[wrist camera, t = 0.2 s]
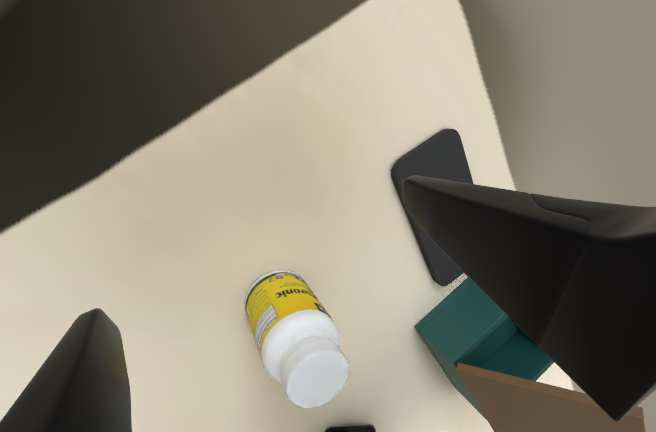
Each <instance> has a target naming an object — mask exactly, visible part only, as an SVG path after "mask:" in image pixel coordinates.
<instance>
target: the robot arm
mask: <svg viewBox="0 0 656 432" xmlns="http://www.w3.org/2000/svg"><path fill="white" fill-rule="evenodd" d="M402 202H403V205H404V207H405V208H406V210H407V211H408V212H409V213H410V214H411V216H412V217H413V218H414V219H415V221H416V222H417V223H418V224H419V226H420V227H421V228H422V229H423V230H424V232H425V233H426V234H427V235H428V236H429V238H430V239H431V240H432V241H433V242H434V243H435V244H436V245H437V246H438V247H439V248H440V249H441V250H442V251H443V252H444V253H445V254H446V255H447V256H448V257H449V258H450V259H451V260H452V261H453V262H454V263H455V264H456V265H457V266H458V267H459V268H460V269H461V270H462V271H463V272H464V273H465V274H466V275H467V276H468V277H469V278H470V279H471V280H472V281H473V282H474V283H475V284H476V285H477V286H478V287H479V288H480V289H481V290H482V291H483V292H484V293H485V294H486V295H487V296H488V297H489V298H490V299H491V300H492V301H494V302H495V303H496V304H497V305H498V306H499V307H500V308H501V309H502V310H503V311H504V312H505V313H506V314H507V315H508V316H509V317H510V318H511V319H512V320H513V321H514V322H515V323H516V324H517V325H518V326H519V327H520V328H521V329H522V330H523V331H524V332H525V333H526V334H527V335H528V336H529V337H530V338H531V339H532V340H533V341H534V342H535V343H536V344H537V345H539V347H540V348H541V349H542V350H543V351H544V352H545V353H546V354H547V355H548V356H549V357H550V358H551V359H552V360H553V361H554V362H555V363H556V364H557V365H558V366H559V367H560V368H561V369H562V370H563V371H564V372H565V373H566V374H567V375H568V376H569V377H570V378H571V379H572V380H573V381H574V382H575V383H576V384H577V385H578V386H579V387H580V388H581V389H582V390H583V391H584V392H585V393H586V394H587V395H588V396H589V397H590V398H591V399H592V400H593V401H594V402H595V403H596V404H597V405H598V406H600V407H601V408H602V409H603V410H604V411H605V412H606V413H607V414H608V415H609V416H610V417H611V418H612V419H613V420H615V421H616V422H619V421H620V420H621V419H622V418H623V417H624V416H626V415H627V414H628V413H629V412H630V411H631V410H633V409H634V408H635V407H636V406H637V405H638V404H639V403H641V402H642V401H643V400H644V399H645V398H646V397H648V396H649V395H650V394H651V393H652V392H653V391H654V390H656V207H638V206H628V205H619V204H609V203H599V202H591V201H582V200H573V199H565V198H558V197H551V196H544V195H538V194H532V193H531V194H528V193H525V192H519V191H512V190H506V189H500V188H493V187H487V186H481V185H475V184H468V183H462V182H456V181H449V180H443V179H437V178H430V177H424V176H418V175H413V176H411V177H408V178H406V179H404V180H403V182H402ZM375 431H376V430H375V428H374V426H355V427H338V428H329V429H327V430H326V432H375ZM0 432H132V426H131V398H130V386H129V379H128V374H127V368H126V362H125V356H124V350H123V345H122V339H121V334H120V331H119V329H118V327H117V326H116V325H115V324H114V323H113V322H112V320H111V319H110V318H109V317H108V316H107V315H106V314H105V313H104V312H103V311H102V310H101V309H98V308H96V309H93V310H91V311H88V312H86V313H84V314H81V315H80V316H79V317H78V318H77V319H76V320H75V322H74V323H73V324H72V326H71V327H70V328H69V330H68V331H67V332H66V334H65V335H64V337H63V338H62V339H61V341H60V342H59V343H58V345H57V346H56V347H55V349H54V350H53V351H52V353H51V354H50V355H49V357H48V358H47V360H46V361H45V362H44V364H43V365H42V366H41V368H40V369H39V370H38V372H37V373H36V374H35V376H34V377H33V378H32V380H31V381H30V382H29V384H28V385H27V387H26V388H25V389H24V391H23V392H22V393H21V395H20V396H19V397H18V399H17V400H16V401H15V403H14V404H13V405H12V407H11V408H10V409H9V411H8V412H7V414H6V415H5V416H4V418H3V419H2V420H1V422H0Z"/></svg>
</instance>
